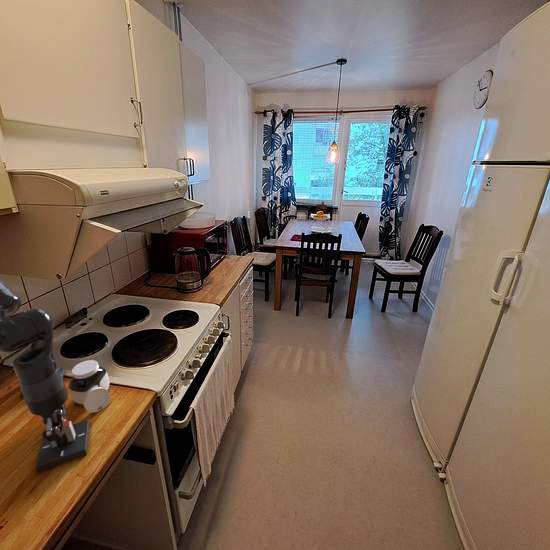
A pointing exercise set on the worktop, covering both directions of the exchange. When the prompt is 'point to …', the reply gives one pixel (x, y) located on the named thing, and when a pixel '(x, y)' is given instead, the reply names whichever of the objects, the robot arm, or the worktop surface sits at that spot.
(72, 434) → the knob
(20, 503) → the worktop surface
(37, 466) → the fryer panel
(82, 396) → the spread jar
